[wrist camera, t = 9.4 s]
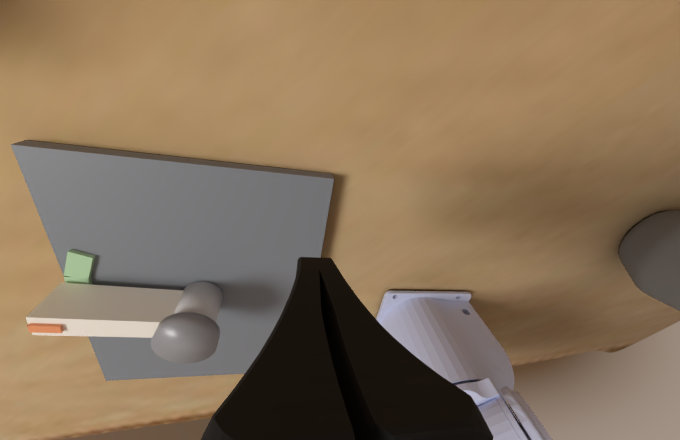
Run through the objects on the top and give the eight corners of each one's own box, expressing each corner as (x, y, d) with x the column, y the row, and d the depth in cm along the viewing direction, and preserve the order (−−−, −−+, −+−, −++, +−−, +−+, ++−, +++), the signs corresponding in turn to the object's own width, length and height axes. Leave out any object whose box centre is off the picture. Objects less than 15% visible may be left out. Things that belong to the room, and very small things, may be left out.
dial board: (332, 173, 20) (334, 180, 19) (300, 361, 30) (301, 373, 29) (25, 139, 16) (5, 145, 15) (112, 370, 26) (104, 383, 25)
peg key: (231, 278, 22) (218, 325, 18) (228, 313, 23) (215, 363, 20) (61, 265, 19) (2, 318, 15) (73, 306, 21) (23, 363, 17)
